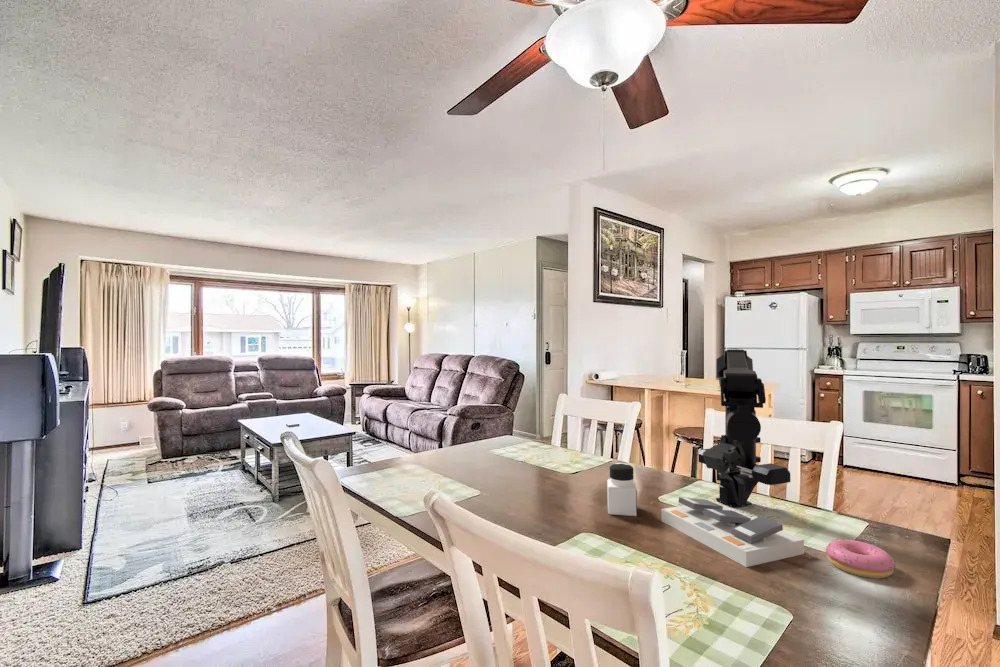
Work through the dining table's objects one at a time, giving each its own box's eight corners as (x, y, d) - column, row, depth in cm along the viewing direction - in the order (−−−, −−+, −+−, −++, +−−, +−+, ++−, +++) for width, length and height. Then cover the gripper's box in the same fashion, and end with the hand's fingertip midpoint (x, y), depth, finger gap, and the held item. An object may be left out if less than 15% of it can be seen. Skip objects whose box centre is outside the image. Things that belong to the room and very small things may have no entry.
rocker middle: (732, 515, 111) (732, 510, 111) (750, 523, 106) (750, 517, 107) (702, 513, 108) (703, 507, 108) (719, 521, 103) (720, 515, 103)
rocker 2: (762, 521, 104) (761, 515, 104) (782, 529, 99) (782, 523, 99) (731, 534, 101) (730, 528, 101) (751, 543, 96) (750, 537, 96)
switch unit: (712, 512, 122) (711, 498, 122) (803, 554, 98) (803, 536, 98) (661, 521, 116) (661, 506, 116) (746, 567, 93) (746, 548, 93)
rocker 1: (706, 504, 119) (707, 499, 119) (722, 511, 114) (722, 506, 114) (678, 502, 116) (679, 496, 116) (693, 509, 111) (694, 503, 111)
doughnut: (823, 550, 100) (823, 531, 100) (889, 563, 95) (889, 542, 95) (828, 573, 91) (828, 551, 91) (902, 588, 85) (901, 565, 85)
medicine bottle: (637, 516, 119) (636, 469, 119) (608, 514, 121) (607, 467, 121) (634, 506, 126) (634, 462, 126) (607, 505, 128) (607, 460, 128)
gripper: (678, 426, 105) (679, 496, 105) (749, 444, 88) (750, 527, 88) (717, 423, 109) (717, 490, 109) (792, 439, 92) (792, 519, 92)
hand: (741, 505), depth 99 cm, fingers closed
